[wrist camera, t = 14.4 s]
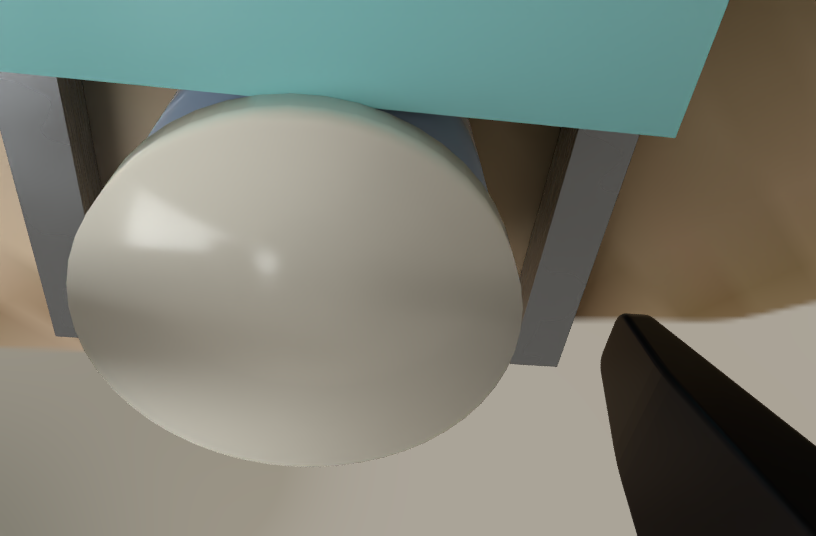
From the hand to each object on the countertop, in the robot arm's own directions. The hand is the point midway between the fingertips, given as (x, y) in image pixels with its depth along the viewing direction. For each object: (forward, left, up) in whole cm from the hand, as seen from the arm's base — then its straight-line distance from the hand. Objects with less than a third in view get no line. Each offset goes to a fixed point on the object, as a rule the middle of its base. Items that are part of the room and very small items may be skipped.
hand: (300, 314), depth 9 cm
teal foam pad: (+1, -4, -5) cm, 7 cm away
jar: (0, 0, -5) cm, 5 cm away
